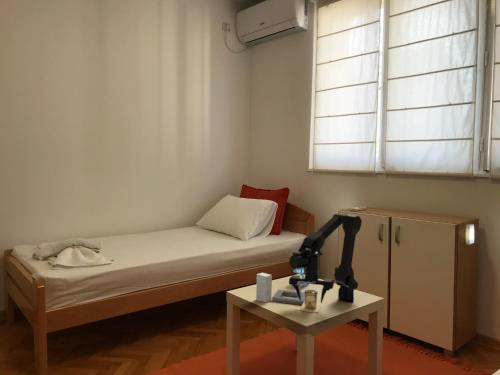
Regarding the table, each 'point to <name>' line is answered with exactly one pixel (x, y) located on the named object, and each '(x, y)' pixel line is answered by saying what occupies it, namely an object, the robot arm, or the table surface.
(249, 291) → the table surface
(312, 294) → the brass flared knob
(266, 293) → the skincare box
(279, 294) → the grey flat rectangular frame
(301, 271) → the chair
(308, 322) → the table surface
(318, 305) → the pad
